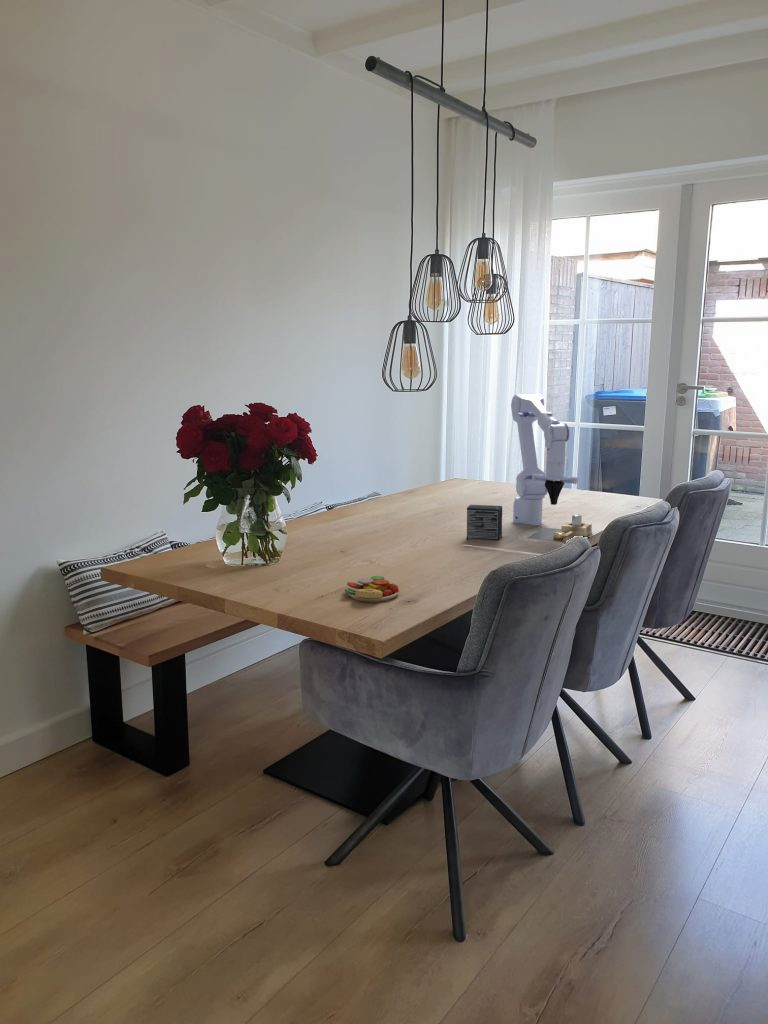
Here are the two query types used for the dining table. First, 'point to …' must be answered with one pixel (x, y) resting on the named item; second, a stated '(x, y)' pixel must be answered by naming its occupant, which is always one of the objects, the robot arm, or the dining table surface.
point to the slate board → (546, 534)
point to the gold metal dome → (558, 535)
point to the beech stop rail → (567, 536)
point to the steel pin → (576, 520)
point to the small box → (484, 522)
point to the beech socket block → (577, 529)
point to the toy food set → (372, 589)
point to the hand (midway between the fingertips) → (553, 504)
